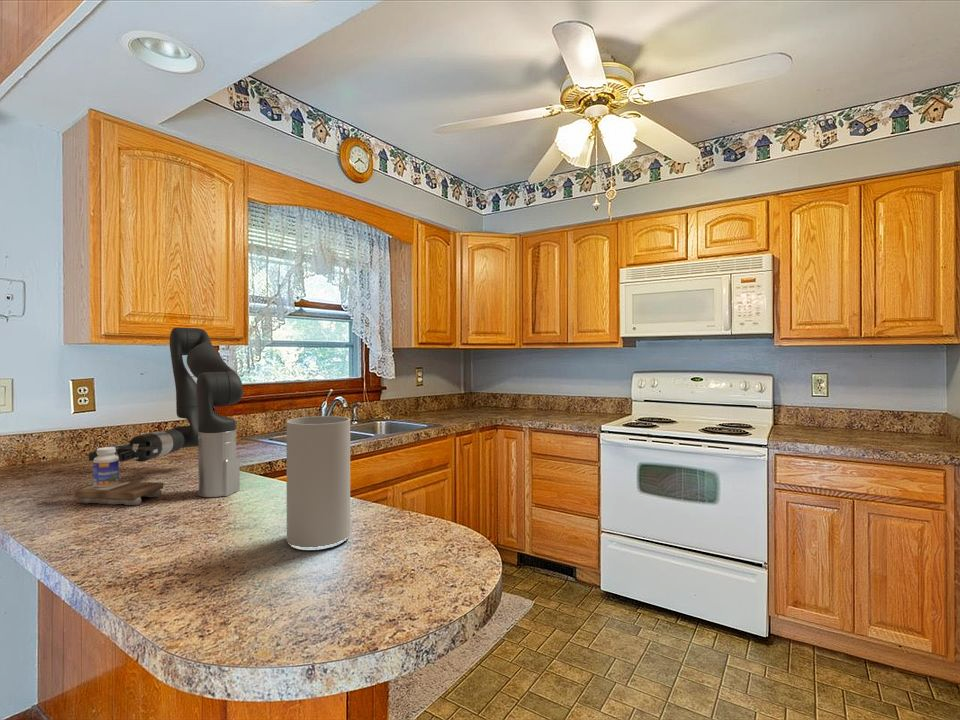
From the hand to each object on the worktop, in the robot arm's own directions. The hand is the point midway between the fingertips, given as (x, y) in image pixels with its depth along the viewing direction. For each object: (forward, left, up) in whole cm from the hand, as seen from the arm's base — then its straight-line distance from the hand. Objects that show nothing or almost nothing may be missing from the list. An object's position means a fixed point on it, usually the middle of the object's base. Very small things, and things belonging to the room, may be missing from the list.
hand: (104, 457), depth 131 cm
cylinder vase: (-67, +21, -11) cm, 71 cm away
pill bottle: (0, -1, -8) cm, 8 cm away
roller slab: (-4, 0, -11) cm, 12 cm away
